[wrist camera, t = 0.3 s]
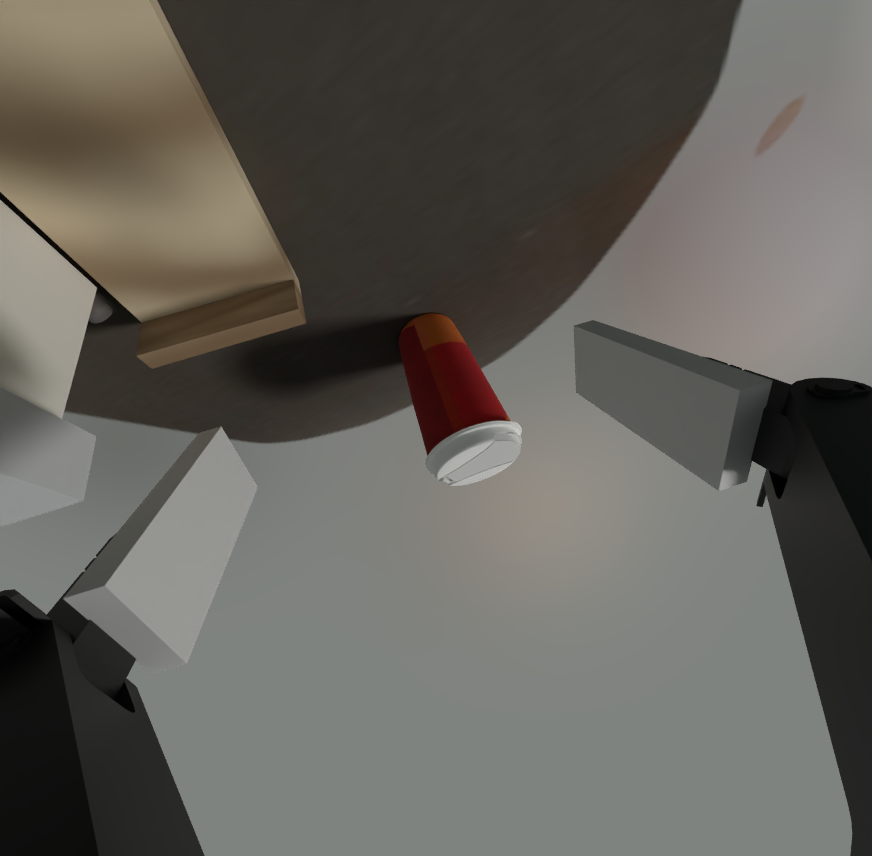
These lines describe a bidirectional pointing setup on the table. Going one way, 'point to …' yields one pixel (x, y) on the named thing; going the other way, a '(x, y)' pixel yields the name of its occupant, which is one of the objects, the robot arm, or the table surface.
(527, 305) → the table surface
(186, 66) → the cart bed
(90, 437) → the tailgate
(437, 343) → the paper cup
